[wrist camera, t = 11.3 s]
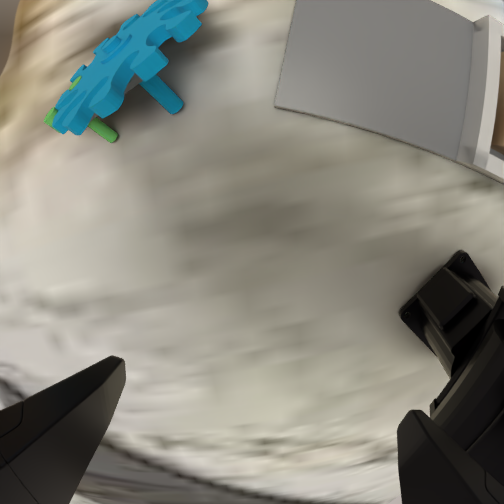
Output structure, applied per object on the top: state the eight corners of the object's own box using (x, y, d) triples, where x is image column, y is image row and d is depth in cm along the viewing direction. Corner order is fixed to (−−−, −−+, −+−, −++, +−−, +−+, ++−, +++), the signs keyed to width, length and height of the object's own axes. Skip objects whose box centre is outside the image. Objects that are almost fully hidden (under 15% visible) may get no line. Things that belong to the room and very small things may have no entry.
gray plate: (547, 81, 13) (571, 79, 10) (531, 198, 16) (556, 208, 14) (304, -32, 13) (307, -56, 10) (274, 107, 17) (273, 100, 14)
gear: (192, -33, 12) (193, 16, 8) (240, 32, 17) (270, 121, 13) (61, 67, 16) (13, 171, 12) (114, 111, 21) (96, 218, 17)
